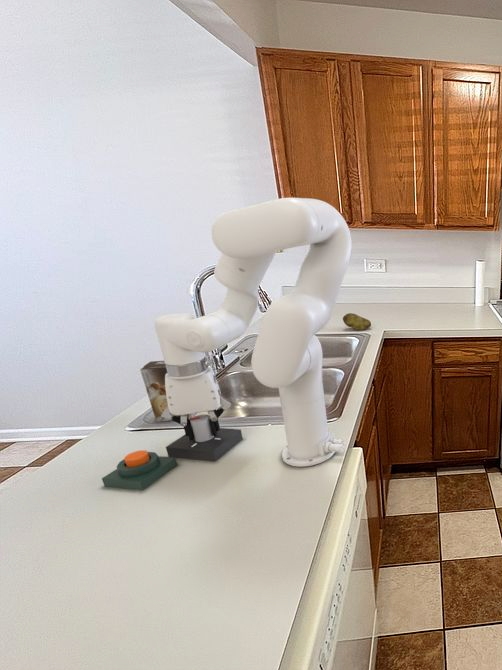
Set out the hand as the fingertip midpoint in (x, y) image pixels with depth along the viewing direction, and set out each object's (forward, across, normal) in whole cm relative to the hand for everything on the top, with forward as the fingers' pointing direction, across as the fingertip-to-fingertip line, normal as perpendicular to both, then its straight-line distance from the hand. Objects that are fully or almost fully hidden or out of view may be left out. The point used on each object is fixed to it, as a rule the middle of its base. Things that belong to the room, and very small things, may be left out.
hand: (204, 434), depth 98 cm
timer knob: (+1, 0, 0) cm, 1 cm away
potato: (0, -54, -93) cm, 107 cm away
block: (+4, +12, +7) cm, 14 cm away
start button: (0, +11, +7) cm, 13 cm away
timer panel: (+4, 0, 0) cm, 4 cm away
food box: (+4, +10, -22) cm, 25 cm away
